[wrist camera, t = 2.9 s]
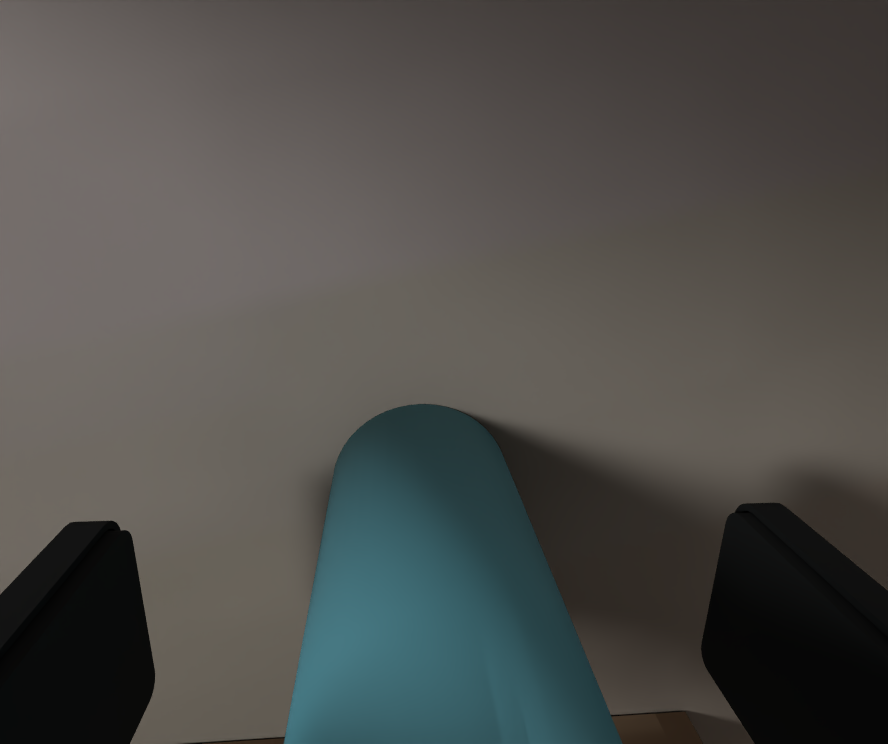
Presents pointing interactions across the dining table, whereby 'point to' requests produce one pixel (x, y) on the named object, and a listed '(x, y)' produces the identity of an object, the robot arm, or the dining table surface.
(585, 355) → the dining table surface
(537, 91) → the dining table surface
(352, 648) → the peg
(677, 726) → the bore box
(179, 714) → the dining table surface
